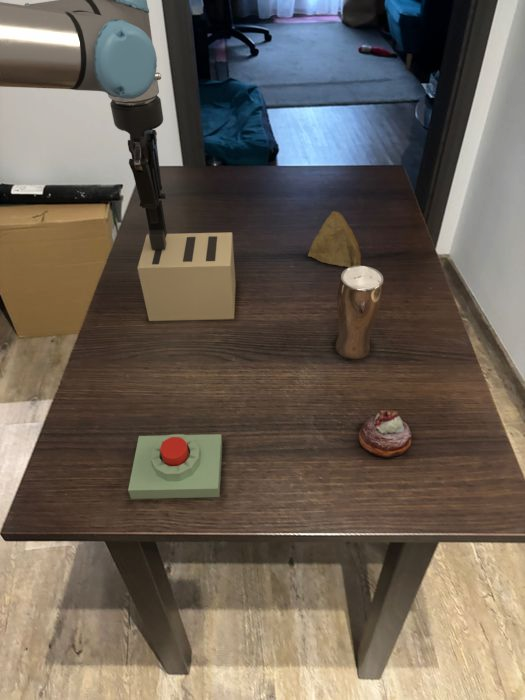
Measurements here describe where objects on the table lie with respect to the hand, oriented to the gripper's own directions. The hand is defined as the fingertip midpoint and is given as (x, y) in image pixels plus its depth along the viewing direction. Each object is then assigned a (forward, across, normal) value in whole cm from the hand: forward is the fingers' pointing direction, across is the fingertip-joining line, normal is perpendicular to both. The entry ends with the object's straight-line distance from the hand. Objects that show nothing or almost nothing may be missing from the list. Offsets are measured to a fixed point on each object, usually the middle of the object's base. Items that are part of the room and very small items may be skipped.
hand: (158, 235), depth 95 cm
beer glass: (+14, -16, -34) cm, 40 cm away
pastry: (+14, -36, -36) cm, 53 cm away
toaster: (+14, -2, -5) cm, 15 cm away
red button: (+10, -41, -6) cm, 42 cm away
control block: (+14, -41, -6) cm, 43 cm away
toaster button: (+1, -2, 0) cm, 2 cm away
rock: (+14, +11, -34) cm, 38 cm away
